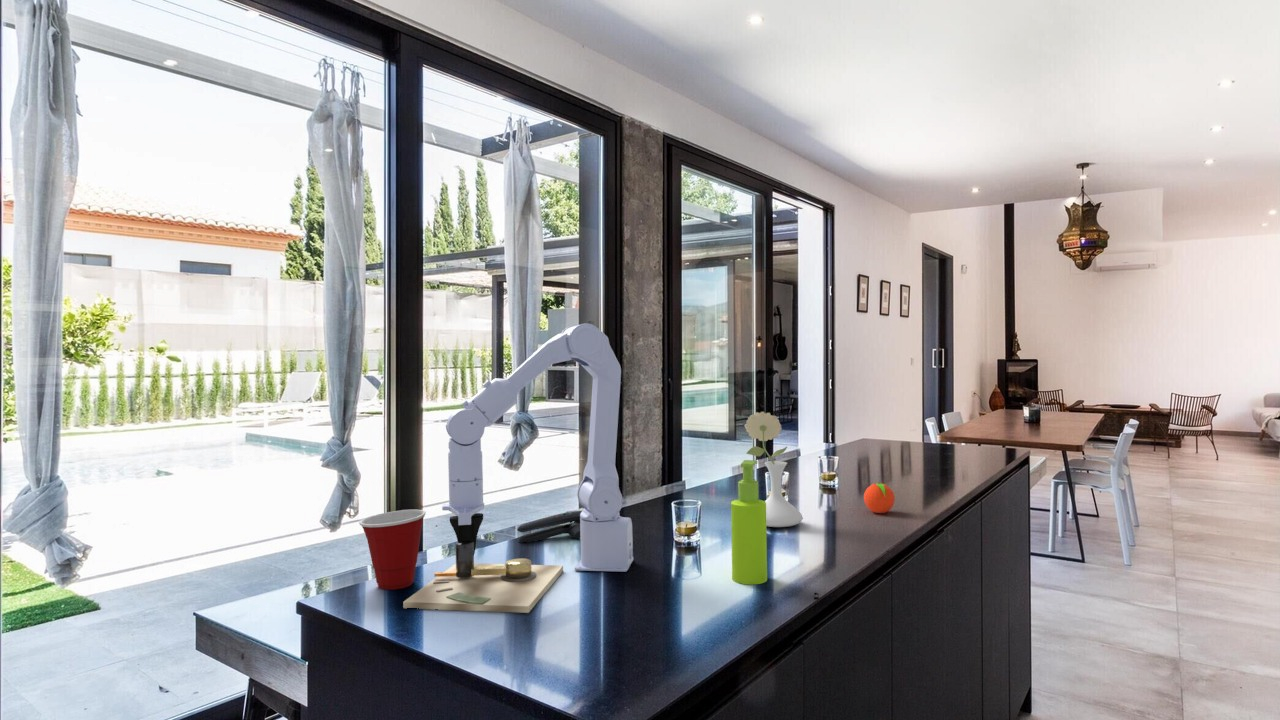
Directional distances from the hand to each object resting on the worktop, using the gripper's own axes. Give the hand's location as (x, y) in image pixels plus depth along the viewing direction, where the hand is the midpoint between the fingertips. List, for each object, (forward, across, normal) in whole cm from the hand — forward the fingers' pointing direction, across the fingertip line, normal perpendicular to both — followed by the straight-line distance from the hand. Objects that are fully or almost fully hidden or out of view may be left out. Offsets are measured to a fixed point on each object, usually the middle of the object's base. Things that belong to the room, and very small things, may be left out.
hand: (467, 557), depth 129 cm
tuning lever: (+2, +3, +3) cm, 5 cm away
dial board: (+4, +6, +4) cm, 8 cm away
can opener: (+4, -25, +18) cm, 31 cm away
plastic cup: (+4, 0, -12) cm, 13 cm away
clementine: (+4, -29, +93) cm, 97 cm away
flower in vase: (+4, -24, +65) cm, 69 cm away
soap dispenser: (+4, +11, +47) cm, 49 cm away
